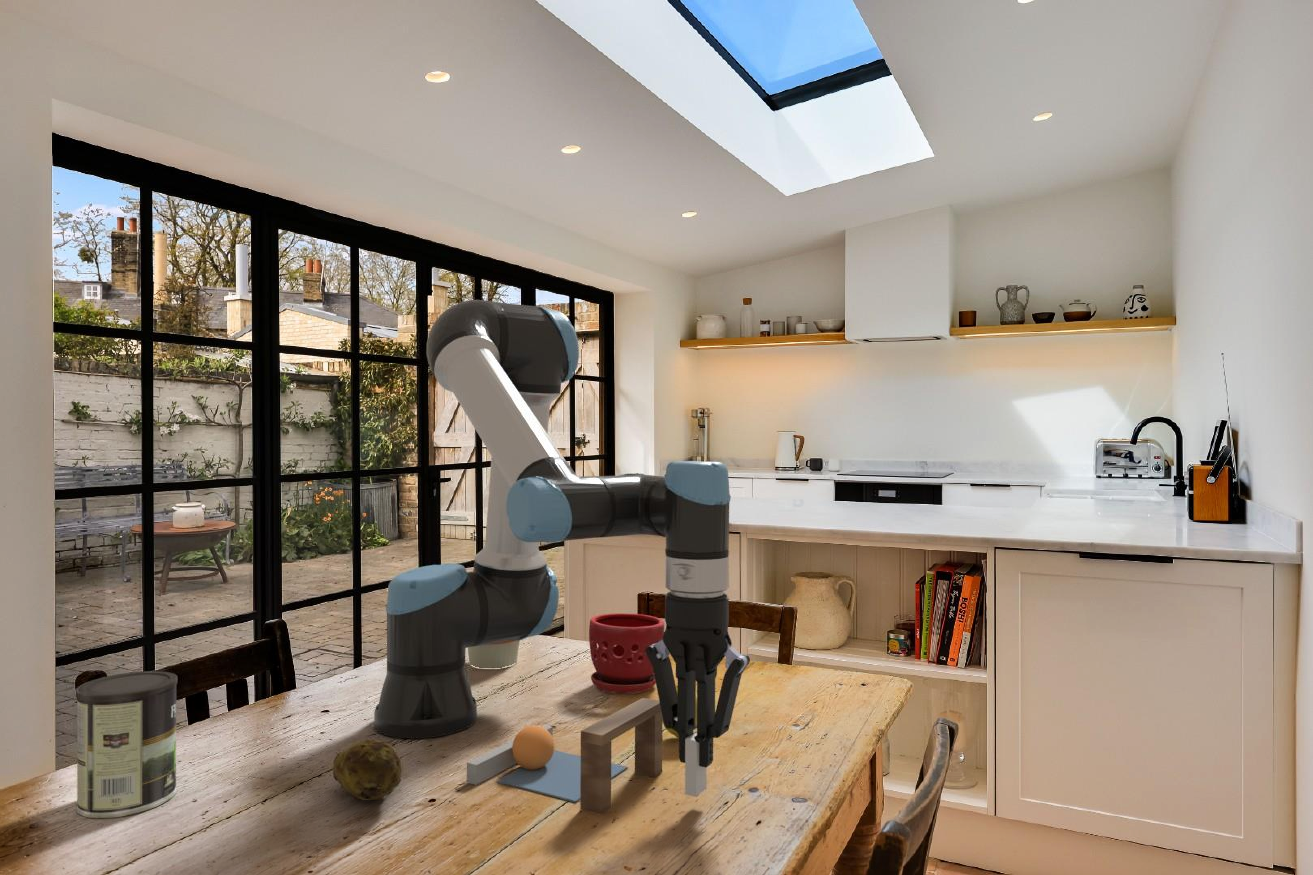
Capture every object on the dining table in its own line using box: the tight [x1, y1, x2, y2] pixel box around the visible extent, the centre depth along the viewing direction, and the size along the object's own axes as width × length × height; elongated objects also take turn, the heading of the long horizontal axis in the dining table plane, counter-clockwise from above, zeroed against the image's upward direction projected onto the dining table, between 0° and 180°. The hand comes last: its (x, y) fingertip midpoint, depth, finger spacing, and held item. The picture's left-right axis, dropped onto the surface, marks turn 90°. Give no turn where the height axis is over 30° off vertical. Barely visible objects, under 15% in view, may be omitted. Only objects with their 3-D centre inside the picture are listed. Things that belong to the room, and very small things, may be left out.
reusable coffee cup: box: [467, 640, 521, 668], centre depth 161 cm, size 13×13×15 cm
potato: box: [331, 739, 403, 801], centre depth 100 cm, size 8×13×8 cm, turn 16°
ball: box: [512, 724, 555, 770], centre depth 110 cm, size 6×6×6 cm
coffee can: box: [75, 670, 179, 819], centre depth 100 cm, size 10×10×14 cm
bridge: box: [579, 697, 663, 816], centre depth 104 cm, size 3×14×9 cm, turn 151°
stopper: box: [466, 724, 554, 786], centre depth 112 cm, size 2×16×2 cm, turn 151°
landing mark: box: [497, 749, 629, 804], centre depth 108 cm, size 12×12×1 cm
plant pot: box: [588, 613, 665, 695], centre depth 147 cm, size 13×13×12 cm
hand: (695, 791), depth 99 cm, fingers closed
